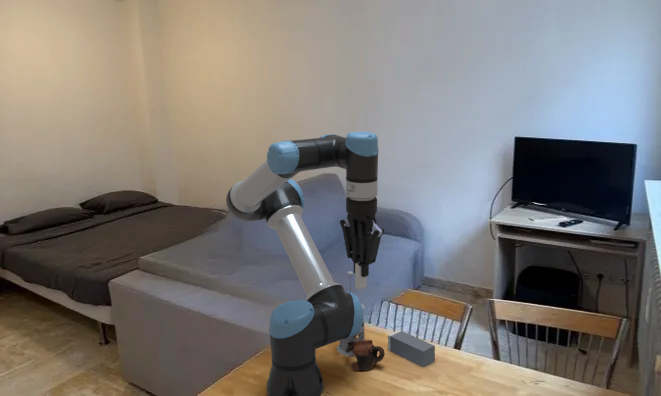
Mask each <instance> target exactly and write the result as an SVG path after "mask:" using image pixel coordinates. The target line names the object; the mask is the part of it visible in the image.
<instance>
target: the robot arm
mask: <svg viewBox="0 0 661 396" xmlns="http://www.w3.org/2000/svg"><path fill="white" fill-rule="evenodd" d="M378 141H379V140H378V135H377V134H376V133H375V132H372V131H371V132H370V131H362V130H359V131H351V132H348V133H347V134H346V137H344V136H340V135H337V134H328V133H327V134H323V135H321V136H320V137H315V138H306V139H305V138H304V139H293V140H282V141H278V142H274V143H271V144H270V146H269V147H268V151H267V153H266V160H265V161H264V162H263V163H262V164H261V165H259V166H258V167H257V168H256V169H255V170H254V171H253V172H252V173H251V174H250V175H249V176H247V177H246V178H245V179H244V180H240V181H237V182H236V183H234V184H233V185H232V186H231V187H230V189H229V190H228V192H227V194H226V197H225V198H226V199H225V203H226V207H227V209H228V211H229V212H230V214H231V215H232V216H234V218H236V219H238V220H241V221H245V222H256V221H261V220H264V221H265V222H266V224H267V226H268V227H269V228H270V229H272V230H275V231H276V233H277V235H278V238H279V240H280V243H281V244H282V246H283V248H284V250H285V253H286V254H287V257H288V259H289V261H290V262H291V265H292V267H293V269H294V271H295V272H296V273H295V274H296V275H297V277H298V279H299V281H300V284H301V286H302V288H303V290H304V292H305V294H306V295H307V296H306V299H305V300H302V299H297V300H290V301H286V302H283V303H280V305H278V306H276V307H275V308H274V309H273V310H272V312H271V313H270V316H269V326H268V332H269V341H270V353H271V367H270V369H269V376H268V378H267V382H266V392H267V396H321V395H322V394H323V393H324V389H325V387H324V378H323V375H322V373H321V371H320V368H319V365H318V362H317V359H316V353H317V352H316V350H317V349H319V348H323V347H324V346H328V345H331V344H334V343H336V342H340V341H339V340H342V339H347V338H349V337H350V336H352V335H355V334H357V333H358V332H359V331H360V329H361V327H362V324H363V322H364V309H362V305H361V303H362V302H361V301H360V298H359V296H358V295H356V293H355V294H354V293H353V292H352V291H351V292H350V291H347V292H346V291H345V288H344V286H343V285H342V284H341V283H339V282H336V281H334V279H333V277H332V275H331V273H330V271H329V269H328V267H327V265H326V263H325V261H324V260H323V258H322V255H321V253H320V252H319V249H318V248H317V245H316V244H315V242H314V240H313V238H312V236H311V234H310V232H309V230H308V228H307V226H306V224H305V222H304V220H303V218H302V216H303V211H304V210H303V209H304V208H305V207H304V206H305V199H304V193H303V191H302V188H301V186H300V185H299V184H298V182H297V181H295V180H294V179H292V178H293V177H296V175H298V174H299V173H301V172H305V171H306V172H307V171H313V170H320V169H328V168H334V167H336V168H340V169H344V170H345V174H346V176H345V182H346V184H345V189H346V190H345V192H346V193H345V194H346V196H347V197H346V199H345V212H346V213H347V215H346V218H344V219H340V220H339V225H340V227H341V229H342V234H343V239H344V245H345V246H344V247H345V251H346V256H347V258H348V259H351V260H352V262H353V275H354V281H355V282H354V285H355V286H354V288H355V289H358V290H361V289H363V288H366V287H367V286H368V284H367V283H368V276H369V273H370V272H369V270H370V267H369V265H372V264H374V263H376V260H377V256H378V251H379V247H380V243H381V238H382V236H383V235H384V234H385V229H384V228H380V227H379V226H378V224H377V222H378V221H377V219H376V214H377V212H378V198H377V196H378V172H379V171H378V170H379V169H378V168H379V166H378V165H379V142H378Z"/></svg>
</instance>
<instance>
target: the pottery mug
mask: <svg viewBox="0 0 661 396" xmlns="http://www.w3.org/2000/svg"><path fill="white" fill-rule="evenodd" d="M351 350H352V351H353V354H355V355H356V356H355V358H356V361H353V362H351V367H352V371H353V372H354V371H371V370H372V369H373V365H374V366H376V365H377V364H378V362H382V361H383V359H384V358H385V355H386V353H385V350H384V348H383V346H382V347H381V346H378V345H377V346H375V345H374V344H373V340H372V339H365V340H362V341H352V342H348V347H347V349H346V353H347V352H348V353H349V352H350V351H351ZM378 352H379V355H378Z"/></svg>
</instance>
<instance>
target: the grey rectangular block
mask: <svg viewBox="0 0 661 396" xmlns="http://www.w3.org/2000/svg"><path fill="white" fill-rule="evenodd" d="M387 351H389V352H391V353H394V354H395V355H397V356H399V357H401V358H403V359H405V360H407V361H409V362H411V363H413V364H415V365H417V366H419V367H421V368H426V367H427V366H429V365H430V364H433V363H434V362H436V361H435V360H436V355H435V354H436V353H435V352H436V346H435V345H434V344H432V343H429V342H428V341H425V340H423V339H421V338H419V337H417V336H416V337H415V336H414V335H411V334H410V333H407V332H405V331H402V330H400V329H398V330H395V331H394V332H391V333H389V334H388V335H387Z"/></svg>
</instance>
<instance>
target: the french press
mask: <svg viewBox="0 0 661 396" xmlns="http://www.w3.org/2000/svg"><path fill="white" fill-rule="evenodd" d="M346 275H347V276H348V277H349V289H350V291H349V292H351V293H352V280H351V278H352V277H353V276H354V271H347V273H346ZM361 305H362V309H363V310H365V304H363V303H362V302H361ZM365 335H366V332H365V322H364V321H363V324H362V327H361V329H360V331H359V332H358V333H357V334H355V335H352V336H350V337H349V338H347V339H342V340H339V341H338V342H339V344H338V345H337V346H336V351H338V352H337V353H339V354H340V355H342V354H343V356H345V355H347V356H346V357H356V355H355V354H353V351H352V350H351V351H350V352H349V353H348V352H347V353H346V349H347V347H348V342H352V341H362V340H366V339H365ZM357 336H358V337H357Z"/></svg>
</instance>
